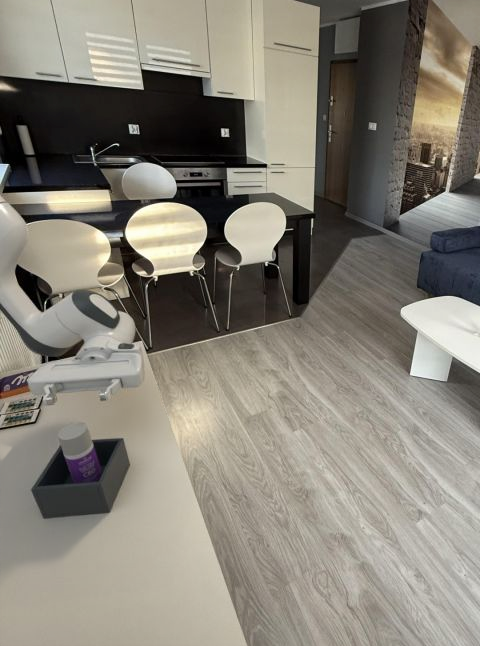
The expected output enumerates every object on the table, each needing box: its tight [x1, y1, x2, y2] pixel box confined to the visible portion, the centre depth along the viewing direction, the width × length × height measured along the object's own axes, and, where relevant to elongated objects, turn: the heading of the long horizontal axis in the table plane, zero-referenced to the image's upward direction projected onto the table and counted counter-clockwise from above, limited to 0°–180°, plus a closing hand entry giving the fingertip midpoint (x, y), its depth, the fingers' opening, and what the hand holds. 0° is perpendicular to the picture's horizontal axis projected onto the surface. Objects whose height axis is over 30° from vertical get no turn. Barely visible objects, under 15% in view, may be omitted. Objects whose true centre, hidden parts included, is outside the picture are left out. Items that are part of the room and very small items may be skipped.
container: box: [57, 421, 102, 483], centre depth 76 cm, size 5×5×15 cm
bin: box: [30, 437, 131, 519], centre depth 78 cm, size 11×11×8 cm
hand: (76, 400), depth 76 cm, fingers open, 8 cm apart
